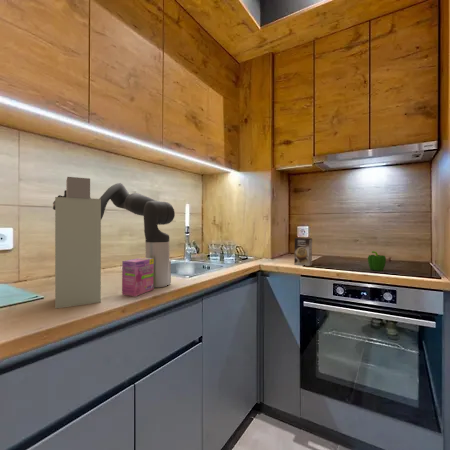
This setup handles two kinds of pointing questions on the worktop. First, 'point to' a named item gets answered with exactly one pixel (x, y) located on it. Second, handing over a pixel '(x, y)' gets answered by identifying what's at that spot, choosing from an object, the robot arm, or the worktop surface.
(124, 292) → the box
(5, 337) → the worktop surface
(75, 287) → the stand
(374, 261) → the bell pepper
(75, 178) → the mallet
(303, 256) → the coffee box
